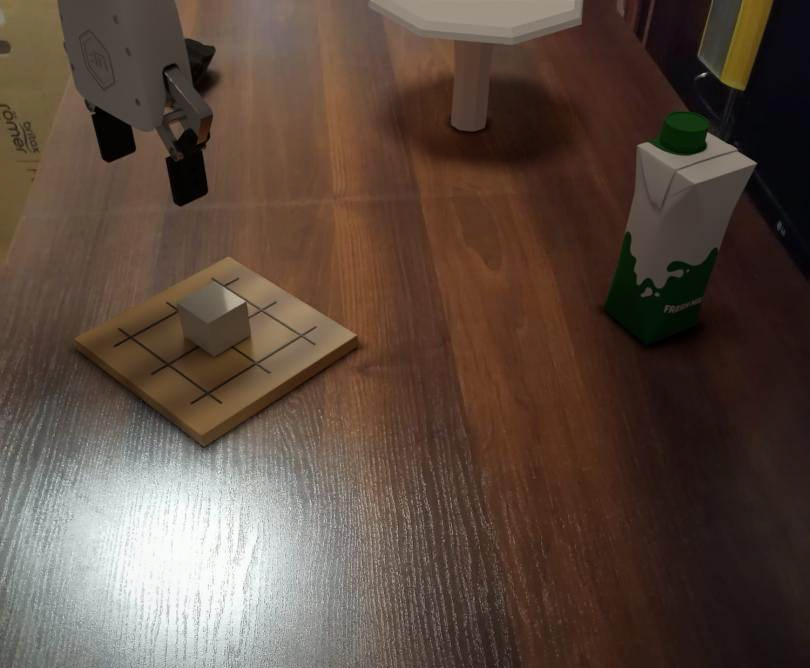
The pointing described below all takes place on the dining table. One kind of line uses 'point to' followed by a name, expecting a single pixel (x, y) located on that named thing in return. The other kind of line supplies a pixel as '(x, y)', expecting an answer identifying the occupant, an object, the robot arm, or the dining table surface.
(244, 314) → the two-tone grey box
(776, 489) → the dining table surface
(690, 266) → the milk carton
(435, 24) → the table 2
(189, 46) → the rock
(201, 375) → the board
